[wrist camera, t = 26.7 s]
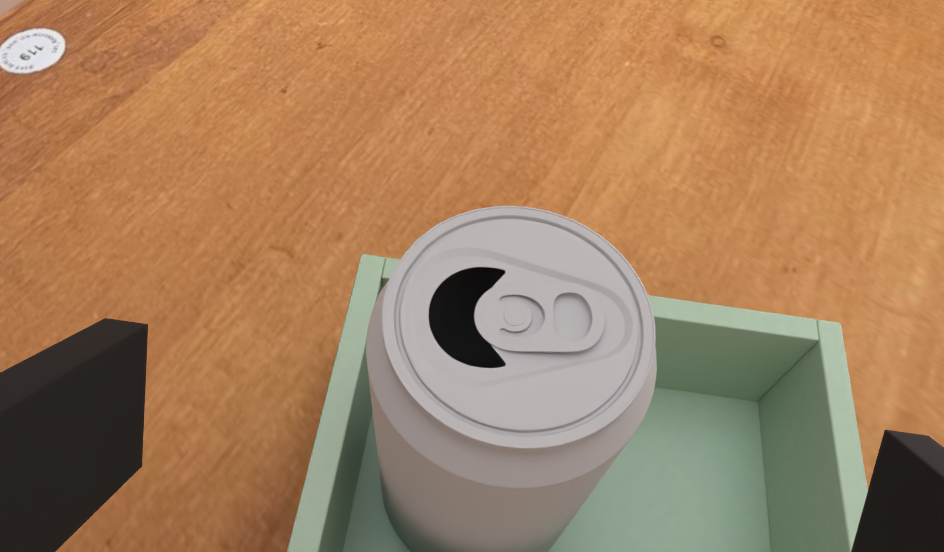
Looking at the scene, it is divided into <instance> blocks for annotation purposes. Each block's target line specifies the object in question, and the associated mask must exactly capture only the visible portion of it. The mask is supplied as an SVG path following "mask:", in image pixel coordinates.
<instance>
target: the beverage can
mask: <svg viewBox="0 0 944 552" xmlns="http://www.w3.org/2000/svg"><path fill="white" fill-rule="evenodd" d="M655 341H656V335H655V320H654V315H653V311H652V306H651V303H650V300H649V297H648V295H647V292H646V290H645V287H644V285H643V283H642V281H641V280H640V278H639V277H638V275H637V273H636V272H635V270H634V269H633V268H632V266H631V265H630V263H629V262H628V261H627V260H626V259H625V257H624V256H623V255H622V254H621V253H620V252H619V251H618V250H617V249H616V248H615V247H614V246H613V245H612V244H610V243H609V242H608V241H607V240H606V239H604V238H603V237H602V236H600V235H599V234H598V233H596V232H594V231H593V230H591V229H590V228H588V227H586V226H584V225H583V224H581V223H579V222H577V221H575V220H572V219H570V218H568V217H565V216H562V215H560V214H556V213H553V212H550V211H546V210H541V209H536V208H530V207H522V206H495V207H488V208H481V209H476V210H472V211H468V212H465V213H462V214H459V215H456V216H454V217H451V218H449V219H447V220H445V221H443V222H441V223H439V224H437V225H436V226H434V227H433V228H431V229H430V230H428V231H427V232H426V233H424V234H423V235H422V236H420V237H419V238H418V239H417V240H416V241H415V242H414V243H413V244H412V245H411V247H410V248H409V249H408V250H407V252H406V253H405V254H404V255H403V257H402V258H401V259H400V260H399V262H398V263H397V265H396V266H395V268H394V270H393V272H392V274H391V277H390V279H389V280H388V282H387V283H386V284H385V286H384V287H383V288H382V290H381V292H380V294H379V296H378V298H377V300H376V303H375V305H374V308H373V310H372V313H371V316H370V320H369V325H368V330H367V339H366V359H367V368H368V377H369V386H370V394H371V403H372V411H373V420H374V429H375V437H376V446H377V454H378V463H379V472H380V480H381V489H382V496H383V502H384V506H385V509H386V512H387V515H388V518H389V520H390V522H391V524H392V526H393V528H394V530H395V531H396V533H397V535H398V536H399V538H400V539H401V540H402V542H403V543H404V544H405V545H406V546H407V547H408V549H409V550H410V551H411V552H547V551H548V550H549V549H550V548H551V547H552V546H553V545H554V543H555V542H556V541H557V539H558V538H559V536H560V535H561V534H562V532H563V531H564V530H565V528H566V527H567V525H568V524H569V523H570V521H571V520H572V519H573V517H574V516H575V514H576V513H577V512H578V510H579V509H580V508H581V506H582V505H583V503H584V502H585V501H586V499H587V498H588V497H589V495H590V494H591V492H592V491H593V490H594V488H595V487H596V485H597V484H598V483H599V481H600V480H601V479H602V477H603V476H604V474H605V473H606V472H607V470H608V469H609V468H610V466H611V465H612V463H613V462H614V461H615V459H616V458H617V457H618V455H619V454H620V452H621V451H622V450H623V448H624V447H625V446H626V444H627V443H628V441H629V440H630V439H631V437H632V436H633V434H634V433H635V432H636V430H637V429H638V427H639V425H640V424H641V422H642V420H643V419H644V416H645V414H646V412H647V410H648V407H649V405H650V402H651V399H652V396H653V392H654V387H655V381H656V373H657V361H656V347H655Z"/></svg>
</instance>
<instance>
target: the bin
mask: <svg viewBox="0 0 944 552" xmlns="http://www.w3.org/2000/svg"><path fill="white" fill-rule="evenodd" d="M399 260H400V259H394V258H385V257H380V256H373V255H366V254H362V255H361V258H360V262H359V266H358V270H357V274H356V278H355V282H354V286H353V290H352V294H351V298H350V302H349V306H348V310H347V314H346V318H345V322H344V326H343V330H342V334H341V338H340V342H339V346H338V350H337V354H336V358H335V362H334V366H333V370H332V374H331V378H330V382H329V386H328V390H327V394H326V398H325V402H324V406H323V410H322V414H321V418H320V422H319V426H318V430H317V434H316V438H315V442H314V446H313V450H312V454H311V458H310V462H309V466H308V470H307V474H306V478H305V482H304V486H303V490H302V494H301V498H300V502H299V506H298V510H297V514H296V518H295V522H294V526H293V530H292V534H291V538H290V542H289V546H288V550H287V552H411V551H410V550H409V549H408V547H407V546H406V545H405V544H404V543H403V542H402V540H401V539H400V538H399V536H398V535H397V533H396V531H395V530H394V528H393V526H392V524H391V522H390V520H389V518H388V515H387V512H386V509H385V506H384V502H383V496H382V489H381V480H380V472H379V463H378V454H377V446H376V437H375V429H374V420H373V411H372V403H371V394H370V386H369V377H368V368H367V359H366V339H367V330H368V325H369V320H370V316H371V313H372V310H373V308H374V305H375V303H376V300H377V298H378V296H379V294H380V292H381V290H382V288H383V287H384V286H385V284H386V283H387V282H388V280H389V279H390V277H391V274H392V272H393V270H394V268H395V266H396V265H397V263H398V262H399ZM648 297H649V300H650V303H651V306H652V311H653V315H654V320H655V335H656V341H655V347H656V361H657V373H656V381H655V387H654V392H653V396H652V399H651V402H650V405H649V407H648V410H647V412H646V414H645V416H644V419H643V420H642V422H641V424H640V425H639V427H638V429H637V430H636V432H635V433H634V434H633V436H632V437H631V439H630V440H629V441H628V443H627V444H626V446H625V447H624V448H623V450H622V451H621V452H620V454H619V455H618V457H617V458H616V459H615V461H614V462H613V463H612V465H611V466H610V468H609V469H608V470H607V472H606V473H605V474H604V476H603V477H602V479H601V480H600V481H599V483H598V484H597V485H596V487H595V488H594V490H593V491H592V492H591V494H590V495H589V497H588V498H587V499H586V501H585V502H584V503H583V505H582V506H581V508H580V509H579V510H578V512H577V513H576V514H575V516H574V517H573V519H572V520H571V521H570V523H569V524H568V525H567V527H566V528H565V530H564V531H563V532H562V534H561V535H560V536H559V538H558V539H557V541H556V542H555V543H554V545H553V546H552V547H551V548H550V549H549V550H548V551H547V552H851V550H852V546H853V543H854V539H855V536H856V532H857V528H858V525H859V521H860V518H861V514H862V510H863V507H864V503H865V500H866V496H867V492H868V488H867V482H866V476H865V470H864V464H863V458H862V452H861V445H860V439H859V433H858V427H857V421H856V415H855V409H854V403H853V396H852V390H851V384H850V378H849V372H848V366H847V360H846V354H845V347H844V341H843V335H842V329H841V324H840V323H837V322H830V321H823V320H816V319H811V318H804V317H797V316H790V315H783V314H776V313H769V312H762V311H755V310H748V309H741V308H735V307H728V306H721V305H714V304H707V303H700V302H693V301H686V300H679V299H672V298H665V297H658V296H651V295H648Z"/></svg>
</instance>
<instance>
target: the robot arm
mask: <svg viewBox="0 0 944 552" xmlns="http://www.w3.org/2000/svg"><path fill="white" fill-rule="evenodd" d="M147 335H148V324H142V323H135V322H128V321H121V320H114V319H107V318H105V319H103V320H101V321H99V322H97V323H95V324H93V325H91V326H89V327H88V328H86V329H84V330H82V331H80V332H78V333H76V334H74V335H72V336H70V337H68V338H66V339H64V340H62V341H61V342H59V343H57V344H55V345H53V346H51V347H49V348H47V349H45V350H43V351H41V352H39V353H37V354H36V355H34V356H32V357H30V358H28V359H26V360H24V361H22V362H20V363H18V364H16V365H14V366H12V367H10V368H9V369H7V370H5V371H3V372H1V373H0V552H55V551H56V550H57V549H58V548H59V547H60V546H61V545H62V544H63V543H64V542H65V541H66V540H67V539H69V538H70V537H71V536H72V535H73V534H74V533H75V532H76V531H77V530H78V529H79V528H80V527H81V526H82V525H83V524H84V523H85V522H86V521H87V520H88V519H89V518H90V517H91V516H92V515H93V514H94V513H95V512H96V511H97V510H98V509H99V508H100V507H101V506H102V505H103V504H104V503H105V502H106V501H107V500H108V499H109V498H110V497H111V496H112V495H113V494H114V493H115V492H116V491H117V490H118V489H119V488H120V487H121V486H122V485H123V484H124V483H125V482H126V481H127V480H128V479H129V478H130V477H131V476H132V475H134V474H135V473H136V472H137V471H138V470H139V469H140V468H141V467H142V452H143V428H144V405H145V382H146V359H147ZM851 552H944V447H942V446H941V445H940V444H938V443H937V442H936V441H934V440H933V439H932V438H930V437H929V436H925V435H918V434H911V433H904V432H897V431H890V430H885V431H884V435H883V439H882V442H881V446H880V449H879V453H878V457H877V460H876V464H875V467H874V471H873V474H872V478H871V482H870V485H869V489H868V492H867V496H866V500H865V503H864V507H863V510H862V514H861V518H860V521H859V525H858V528H857V532H856V536H855V539H854V543H853V546H852V550H851Z"/></svg>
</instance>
